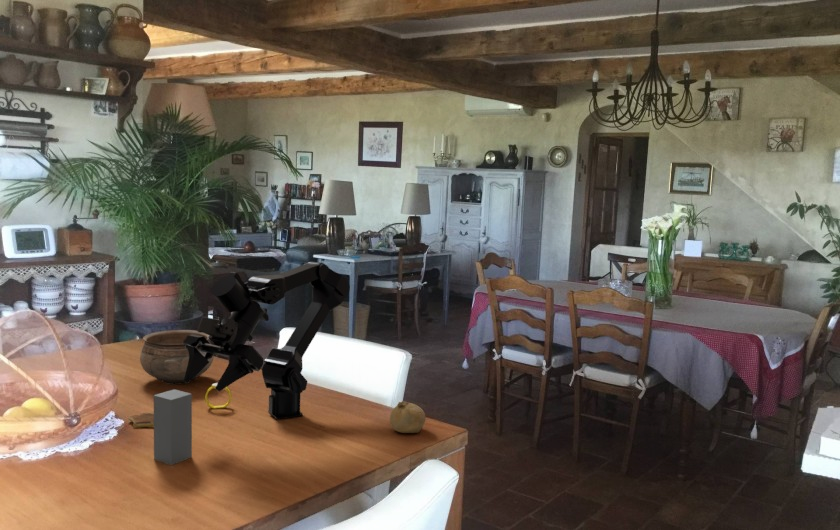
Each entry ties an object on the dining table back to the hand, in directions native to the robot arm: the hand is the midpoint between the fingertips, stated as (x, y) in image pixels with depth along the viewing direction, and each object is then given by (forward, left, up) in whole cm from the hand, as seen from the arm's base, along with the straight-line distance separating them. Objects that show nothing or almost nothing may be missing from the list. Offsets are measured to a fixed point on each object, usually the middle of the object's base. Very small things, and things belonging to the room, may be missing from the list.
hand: (201, 386), depth 145 cm
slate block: (+6, +4, -13) cm, 15 cm away
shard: (+5, -20, -14) cm, 24 cm away
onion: (-44, +10, -13) cm, 47 cm away
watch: (-10, -23, -13) cm, 29 cm away
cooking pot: (-6, -50, -13) cm, 52 cm away
